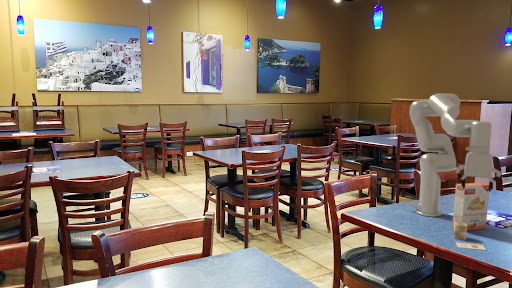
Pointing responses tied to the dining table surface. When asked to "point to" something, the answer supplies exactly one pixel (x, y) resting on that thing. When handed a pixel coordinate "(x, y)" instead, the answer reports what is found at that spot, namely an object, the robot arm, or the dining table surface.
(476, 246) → the menu card
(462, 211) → the cracker box
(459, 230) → the maple block
